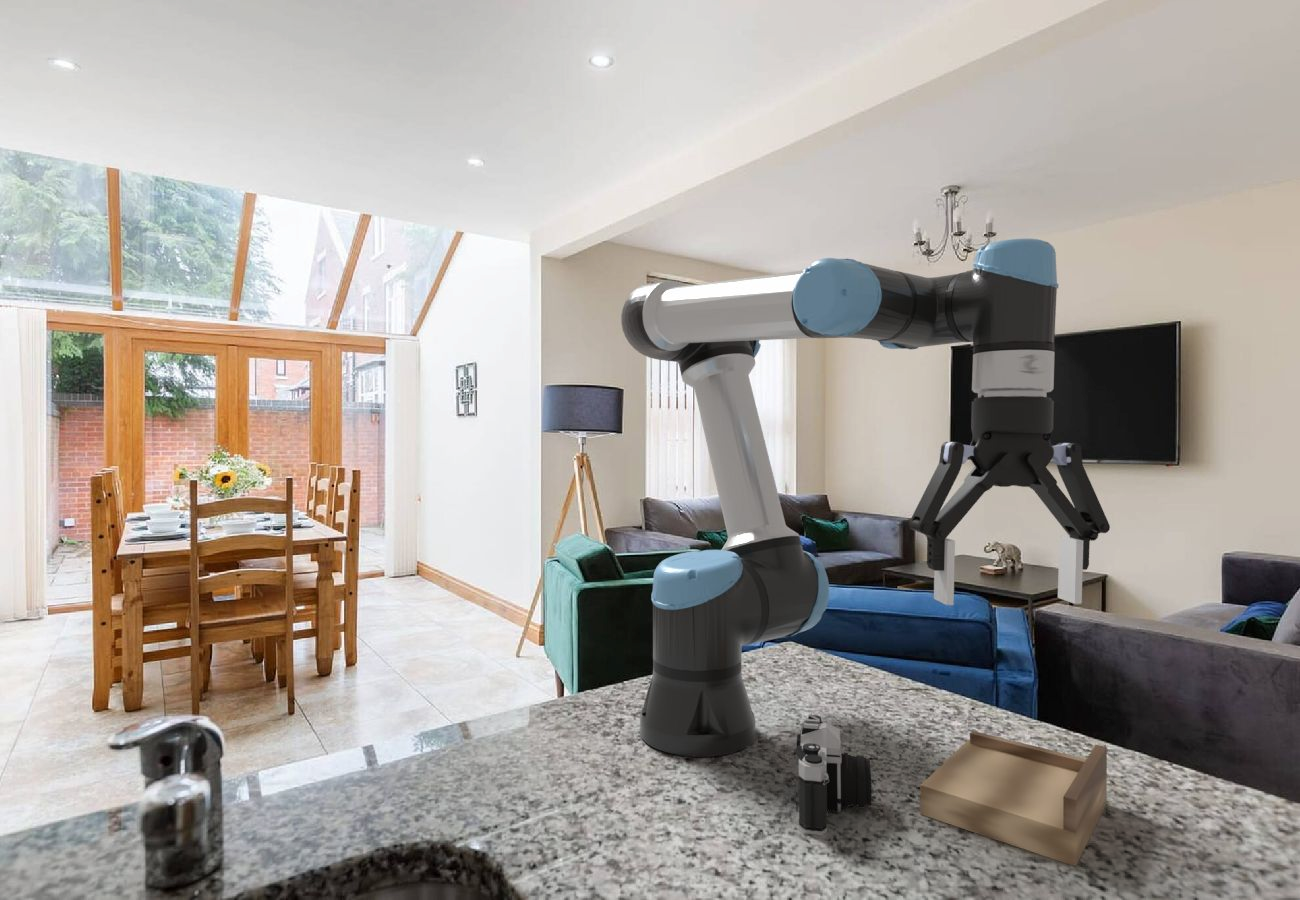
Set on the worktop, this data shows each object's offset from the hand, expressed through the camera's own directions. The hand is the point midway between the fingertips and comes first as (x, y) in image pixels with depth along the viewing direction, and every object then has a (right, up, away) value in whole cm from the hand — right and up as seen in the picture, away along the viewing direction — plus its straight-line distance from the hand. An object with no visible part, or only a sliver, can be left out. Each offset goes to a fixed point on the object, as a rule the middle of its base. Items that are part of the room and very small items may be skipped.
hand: (1006, 601), depth 75 cm
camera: (-18, -22, +2) cm, 28 cm away
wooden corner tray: (+1, -22, +1) cm, 22 cm away
